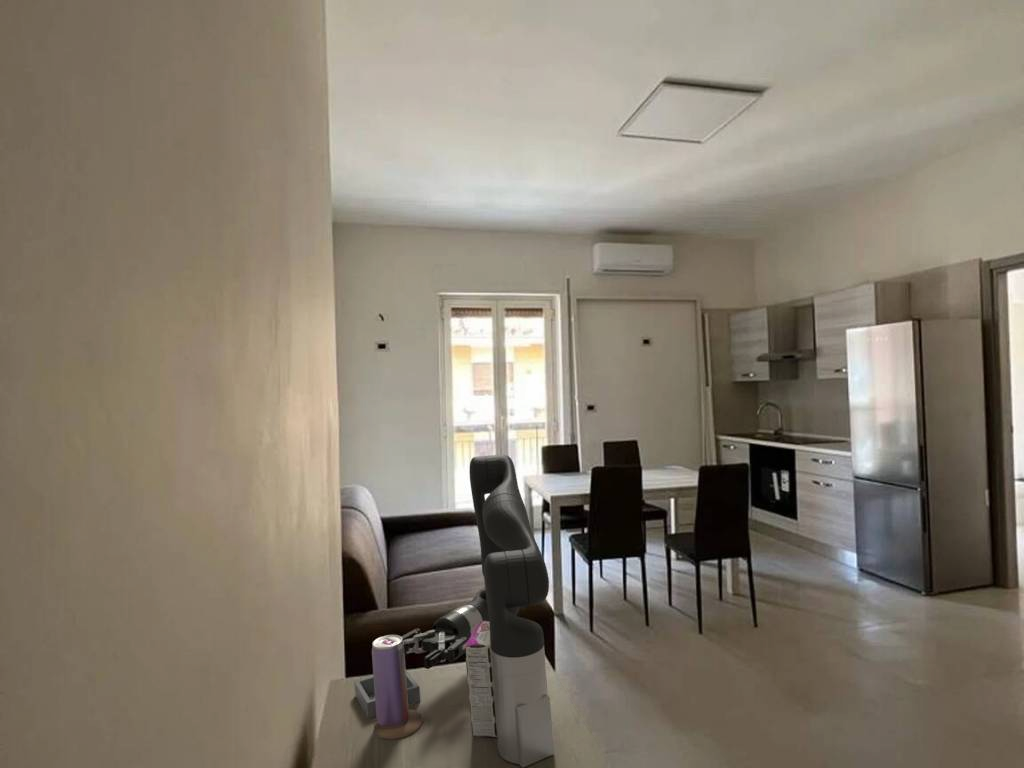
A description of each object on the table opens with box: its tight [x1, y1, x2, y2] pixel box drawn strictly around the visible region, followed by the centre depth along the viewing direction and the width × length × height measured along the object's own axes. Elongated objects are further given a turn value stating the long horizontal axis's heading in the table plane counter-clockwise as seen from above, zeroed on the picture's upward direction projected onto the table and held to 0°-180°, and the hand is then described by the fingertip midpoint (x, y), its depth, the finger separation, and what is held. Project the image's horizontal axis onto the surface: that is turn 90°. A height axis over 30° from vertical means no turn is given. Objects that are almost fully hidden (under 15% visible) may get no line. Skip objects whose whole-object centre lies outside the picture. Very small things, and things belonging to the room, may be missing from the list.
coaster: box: [373, 708, 424, 740], centre depth 106 cm, size 9×9×1 cm
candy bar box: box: [464, 621, 497, 738], centre depth 105 cm, size 11×5×16 cm, turn 168°
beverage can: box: [371, 634, 409, 729], centre depth 106 cm, size 6×6×15 cm
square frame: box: [354, 670, 421, 720], centre depth 116 cm, size 11×11×3 cm
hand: (408, 660), depth 109 cm, fingers open, 8 cm apart
